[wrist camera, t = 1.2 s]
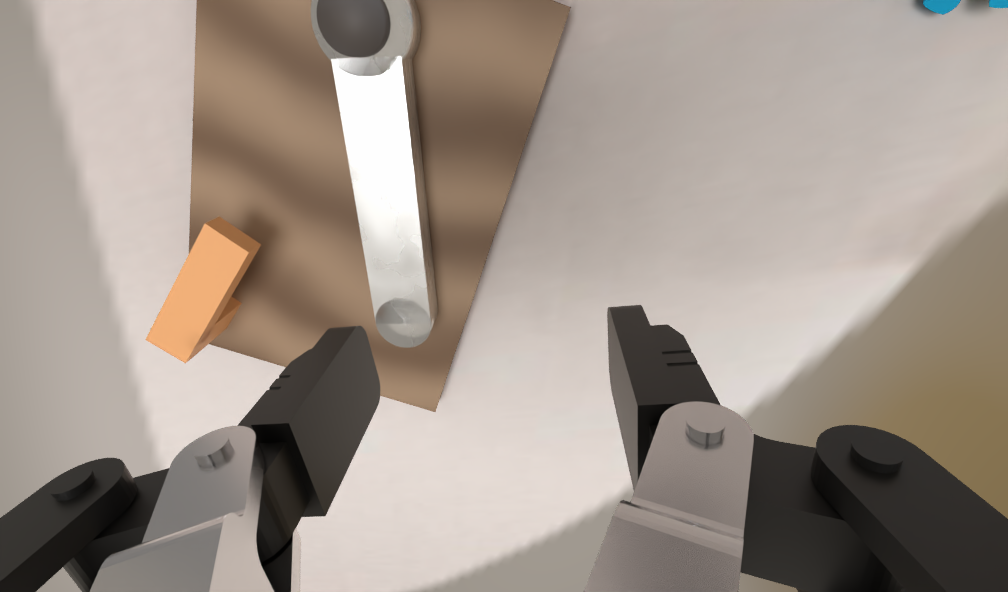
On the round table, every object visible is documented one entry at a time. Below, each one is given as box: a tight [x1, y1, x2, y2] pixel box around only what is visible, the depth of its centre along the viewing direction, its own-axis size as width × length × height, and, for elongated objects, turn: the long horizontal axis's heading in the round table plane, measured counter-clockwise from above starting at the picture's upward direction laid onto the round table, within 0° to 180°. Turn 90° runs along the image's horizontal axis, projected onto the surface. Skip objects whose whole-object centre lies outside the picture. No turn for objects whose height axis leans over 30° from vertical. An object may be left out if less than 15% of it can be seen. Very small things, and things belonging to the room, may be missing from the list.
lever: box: [311, 0, 438, 348], centre depth 25 cm, size 19×4×2 cm, turn 2°
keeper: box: [146, 217, 261, 363], centre depth 27 cm, size 9×2×4 cm, turn 142°
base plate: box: [189, 0, 571, 412], centre depth 26 cm, size 25×17×5 cm
